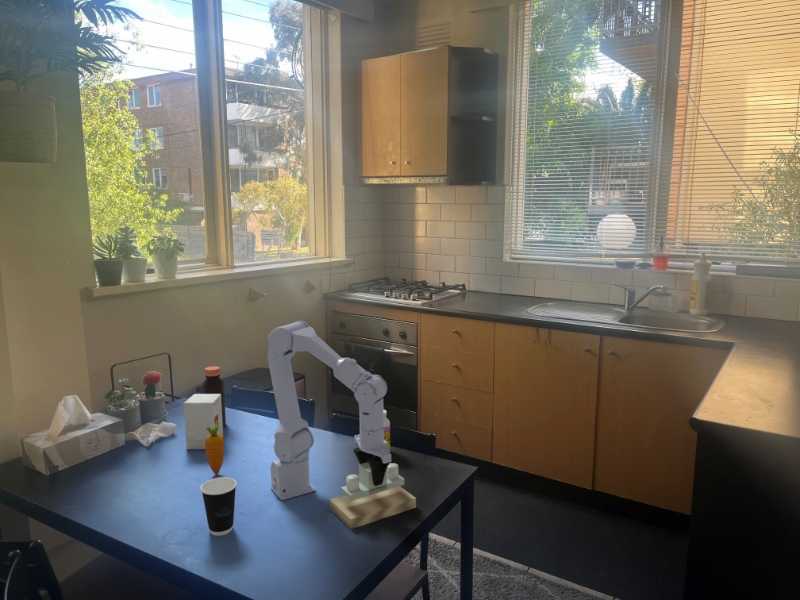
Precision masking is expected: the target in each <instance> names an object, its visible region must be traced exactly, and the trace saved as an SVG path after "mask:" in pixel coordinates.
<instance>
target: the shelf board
mask: <svg viewBox="0 0 800 600" xmlns="http://www.w3.org/2000/svg"><path fill="white" fill-rule="evenodd" d="M328 500H329V509H330V511H331V512H332V513H334V514H335V516H336V517H337V518H339V519H340V520H341V521H342V523H344V524H345V525H346V526H347V527H348V528H349V529H350V530H353V529H355V528H358V527H362V526H366V525H368V524H371V523H374V522H377V521H380V520H383V519H386V518H389V517H392V516H394V515H398V514H401V513H403V512H407V511H410V510H413V509H416V508H417V498H416V497H415V496H414V495H412V494H411V493H410V492H409V491H407V490H406V489H404V488H403V487H402V486H398V487H395V488H392V489H389V490H385V491H382V492H379V493H376V494H373V495H369V496H366V497H363V498H360V499H357V500H353V501H349V500H348V499H347V498H346V497H345V496H344V495H343V494H341V495H340V496H337V497H332V498H330V499H328Z"/></svg>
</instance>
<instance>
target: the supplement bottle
mask: <svg viewBox="0 0 800 600" xmlns="http://www.w3.org/2000/svg"><path fill="white" fill-rule="evenodd" d="M383 412H384V440H385V441H387V442H388V445H386V448H387V450H388V452H389V453H391V422H390V420H389V419H388V418H387V415H388V414H387V412H388V411H387V410H386V409H384V408H383ZM374 457H375V455H374Z"/></svg>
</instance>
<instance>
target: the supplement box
mask: <svg viewBox="0 0 800 600" xmlns="http://www.w3.org/2000/svg"><path fill="white" fill-rule="evenodd" d="M183 413H184V427H185V428H184V429H185V445H186V446H185V447H186V450H206V445H205V440H206V438H207V436H209V435H211V434H210V433H209V431H208V430H207V429H206V426H207V425H208V426H209V427H210V428H211V430H212V428H213V429H214V428H215V426H216V421H218V422H219V427H218V431H217V434H220V435H222V436H223V437H224V426H223V423H222V405H221V394H203V393H194V394H192V395H191V396H190V397H189V398H188V399H187V400H186V401H184V402H183Z"/></svg>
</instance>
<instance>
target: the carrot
mask: <svg viewBox="0 0 800 600" xmlns="http://www.w3.org/2000/svg"><path fill="white" fill-rule="evenodd" d="M218 427H219V422H218V421H216V426H215V428H214V429H213V428H212V430H211V428H210V427H209V426H208V425H207V426H206V429H207V430H208V431H209V433H210V434H211V435H209V436H207V438H206V440H205V445H206V449H205V452H206V458H207V462H208V465H209V467H210V469H211V471H212V472H213V474H215V475H216V476H217V475H219V473H220V470H221V468H222V466H223V462H224V454H225V438H224V435H223V436H222V435H220V434H217V431H218Z"/></svg>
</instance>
